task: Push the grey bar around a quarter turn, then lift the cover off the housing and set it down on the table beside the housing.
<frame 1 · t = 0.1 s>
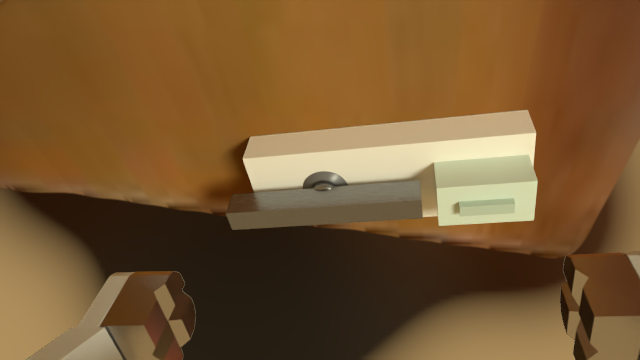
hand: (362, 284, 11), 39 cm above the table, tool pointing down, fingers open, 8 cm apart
grey bar: (323, 203, 54), point 6 cm above the table, hinge at 0.0°
housing: (386, 161, 58), on the table
cover: (480, 177, 53), point 4 cm above the table, touching housing
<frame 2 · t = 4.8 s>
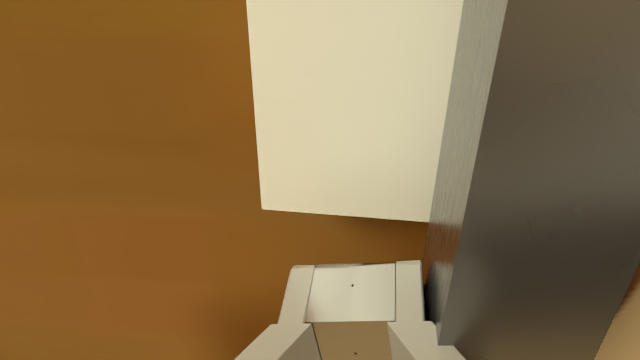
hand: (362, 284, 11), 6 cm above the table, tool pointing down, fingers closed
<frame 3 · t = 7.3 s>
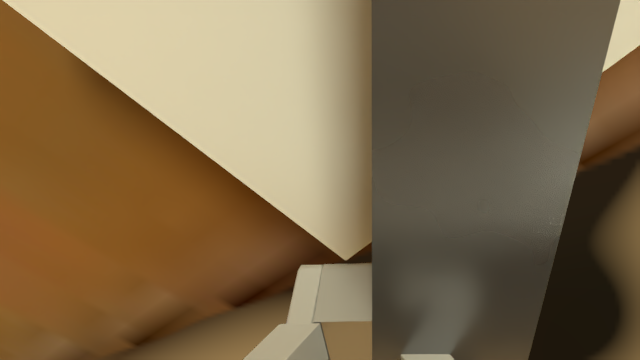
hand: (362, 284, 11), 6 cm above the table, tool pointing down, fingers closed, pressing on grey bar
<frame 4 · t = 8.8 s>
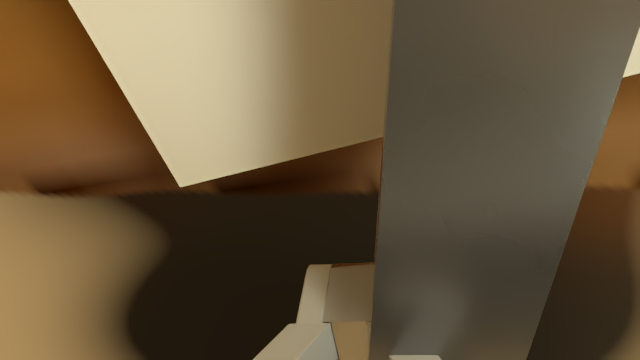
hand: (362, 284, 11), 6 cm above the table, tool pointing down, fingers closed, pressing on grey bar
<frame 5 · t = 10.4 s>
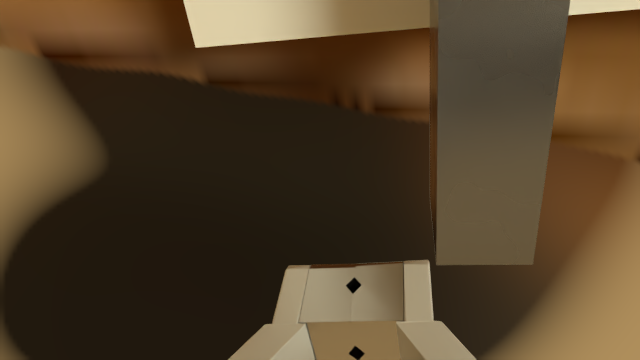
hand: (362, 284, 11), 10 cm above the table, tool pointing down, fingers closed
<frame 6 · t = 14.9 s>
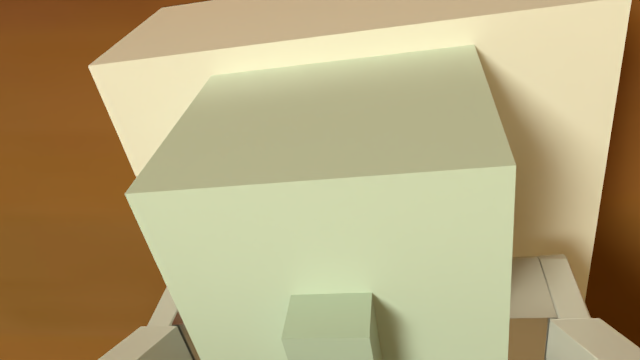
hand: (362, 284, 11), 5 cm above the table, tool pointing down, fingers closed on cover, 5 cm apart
housing: (399, 357, 21), on the table
cover: (365, 242, 12), point 4 cm above the table, touching gripper, housing
when the fingers open (3 cm above the table, at t = 21.6 s): cover drops 2 cm, on the table.
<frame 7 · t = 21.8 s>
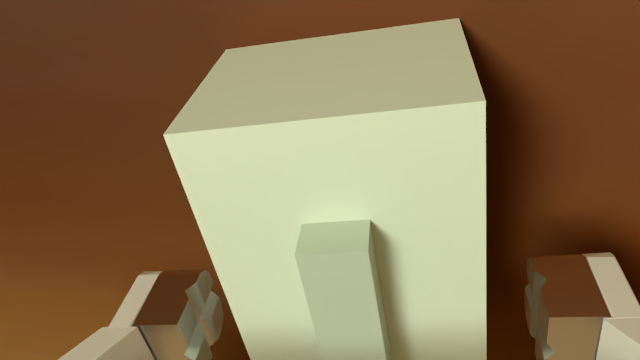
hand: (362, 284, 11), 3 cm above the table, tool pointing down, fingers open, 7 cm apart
cover: (364, 199, 14), on the table
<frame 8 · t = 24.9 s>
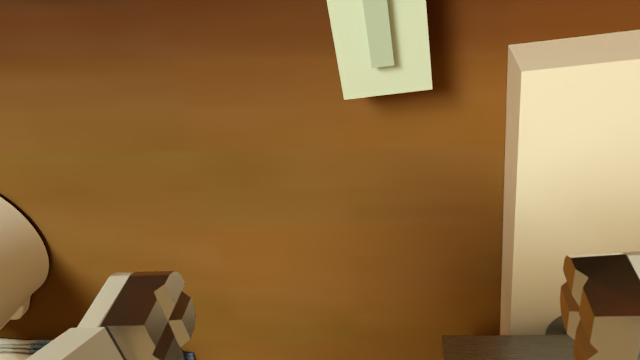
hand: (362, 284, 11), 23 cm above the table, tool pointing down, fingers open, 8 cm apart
grey bar: (591, 359, 36), point 6 cm above the table, hinge at 89.4°
housing: (574, 229, 38), on the table
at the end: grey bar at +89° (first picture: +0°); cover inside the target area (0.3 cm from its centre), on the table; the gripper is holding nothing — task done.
